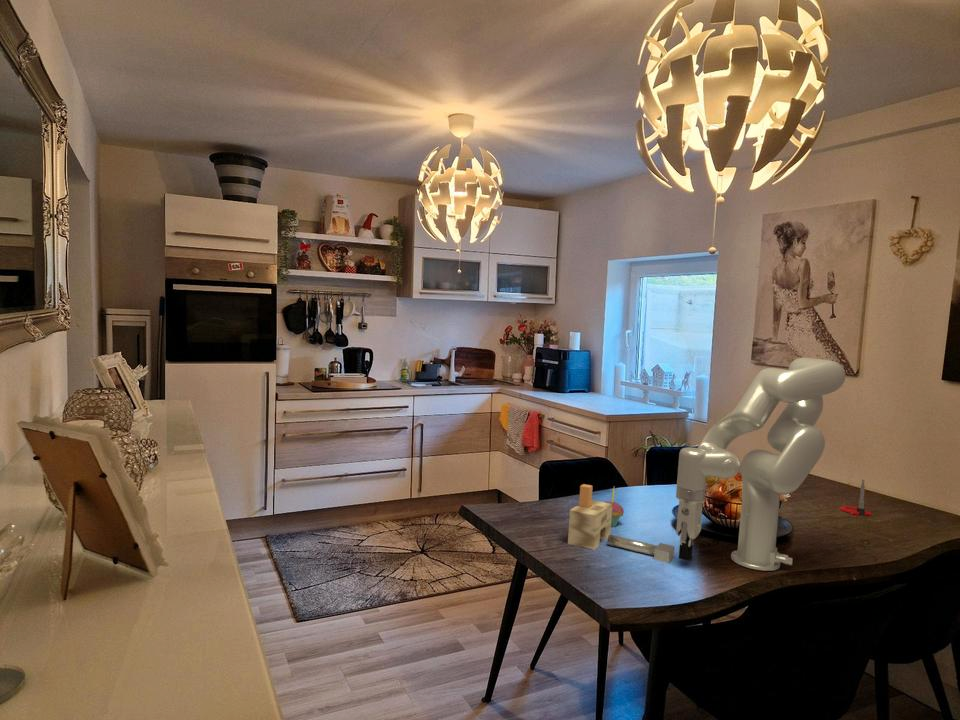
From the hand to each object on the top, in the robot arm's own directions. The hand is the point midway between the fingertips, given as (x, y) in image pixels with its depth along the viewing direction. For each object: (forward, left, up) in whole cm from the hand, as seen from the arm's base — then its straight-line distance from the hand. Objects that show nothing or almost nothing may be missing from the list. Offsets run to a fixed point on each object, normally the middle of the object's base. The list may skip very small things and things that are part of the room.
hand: (685, 558), depth 173 cm
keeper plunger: (+30, 0, +8) cm, 31 cm away
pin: (+14, 0, -1) cm, 14 cm away
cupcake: (+28, -18, -1) cm, 33 cm away
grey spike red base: (-40, -90, -2) cm, 99 cm away
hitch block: (+28, 0, -1) cm, 28 cm away
